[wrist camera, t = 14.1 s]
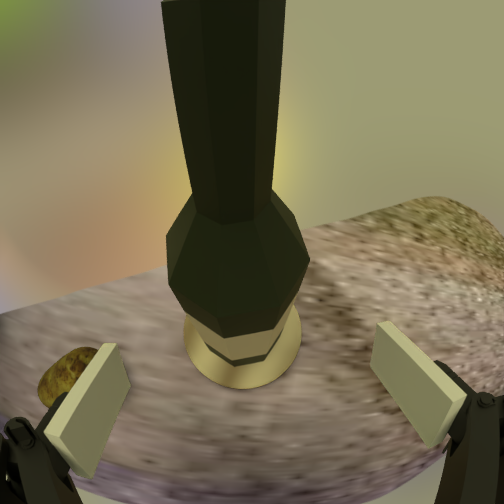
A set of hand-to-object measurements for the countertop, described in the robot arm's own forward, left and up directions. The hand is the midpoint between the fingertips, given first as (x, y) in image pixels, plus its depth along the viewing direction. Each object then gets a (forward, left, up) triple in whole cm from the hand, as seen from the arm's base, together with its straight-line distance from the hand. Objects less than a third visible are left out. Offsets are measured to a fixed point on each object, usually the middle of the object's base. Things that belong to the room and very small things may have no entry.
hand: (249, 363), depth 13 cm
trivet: (-1, +6, -19) cm, 20 cm away
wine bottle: (-1, +6, -16) cm, 17 cm away
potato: (-20, -4, -19) cm, 28 cm away
